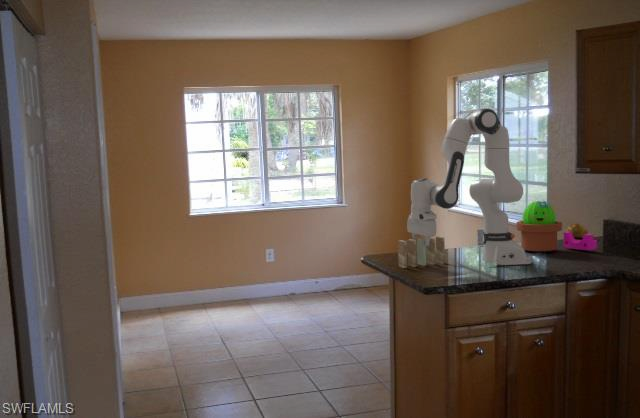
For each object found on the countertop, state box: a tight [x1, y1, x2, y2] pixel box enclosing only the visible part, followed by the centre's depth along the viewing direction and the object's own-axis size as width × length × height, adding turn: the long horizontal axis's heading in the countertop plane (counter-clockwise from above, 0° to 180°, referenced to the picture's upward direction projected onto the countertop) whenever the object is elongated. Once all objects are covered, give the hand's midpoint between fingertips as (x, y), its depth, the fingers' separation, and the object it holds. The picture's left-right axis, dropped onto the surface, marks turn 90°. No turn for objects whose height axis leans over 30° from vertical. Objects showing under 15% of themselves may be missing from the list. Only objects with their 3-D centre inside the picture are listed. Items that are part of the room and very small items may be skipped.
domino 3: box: [435, 235, 446, 265], centre depth 309 cm, size 2×5×12 cm, turn 22°
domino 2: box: [426, 237, 437, 265], centre depth 307 cm, size 2×5×12 cm, turn 22°
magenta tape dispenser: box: [563, 231, 598, 251], centre depth 337 cm, size 15×6×8 cm, turn 30°
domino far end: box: [397, 239, 408, 269], centre depth 301 cm, size 2×5×12 cm, turn 22°
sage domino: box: [416, 237, 427, 267], centre depth 305 cm, size 2×5×12 cm, turn 23°
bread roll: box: [565, 222, 589, 238], centre depth 375 cm, size 13×10×8 cm
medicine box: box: [477, 228, 484, 246], centre depth 355 cm, size 8×4×9 cm, turn 71°
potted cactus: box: [516, 200, 563, 252], centre depth 336 cm, size 22×22×25 cm
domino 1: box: [407, 238, 418, 268], centre depth 303 cm, size 2×5×12 cm, turn 22°
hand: (421, 244), depth 305 cm, fingers open, 8 cm apart
